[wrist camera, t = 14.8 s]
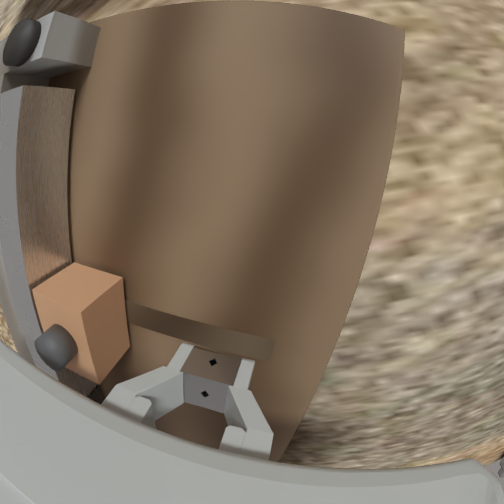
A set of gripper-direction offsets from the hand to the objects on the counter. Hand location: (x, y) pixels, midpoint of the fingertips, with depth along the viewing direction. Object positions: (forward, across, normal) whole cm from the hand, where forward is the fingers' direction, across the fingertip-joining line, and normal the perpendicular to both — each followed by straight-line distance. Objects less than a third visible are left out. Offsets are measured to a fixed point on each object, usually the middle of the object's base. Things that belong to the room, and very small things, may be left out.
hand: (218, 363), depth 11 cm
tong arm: (+1, -9, 0) cm, 9 cm away
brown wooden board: (+2, -5, +1) cm, 6 cm away
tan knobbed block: (+1, -6, 0) cm, 6 cm away
